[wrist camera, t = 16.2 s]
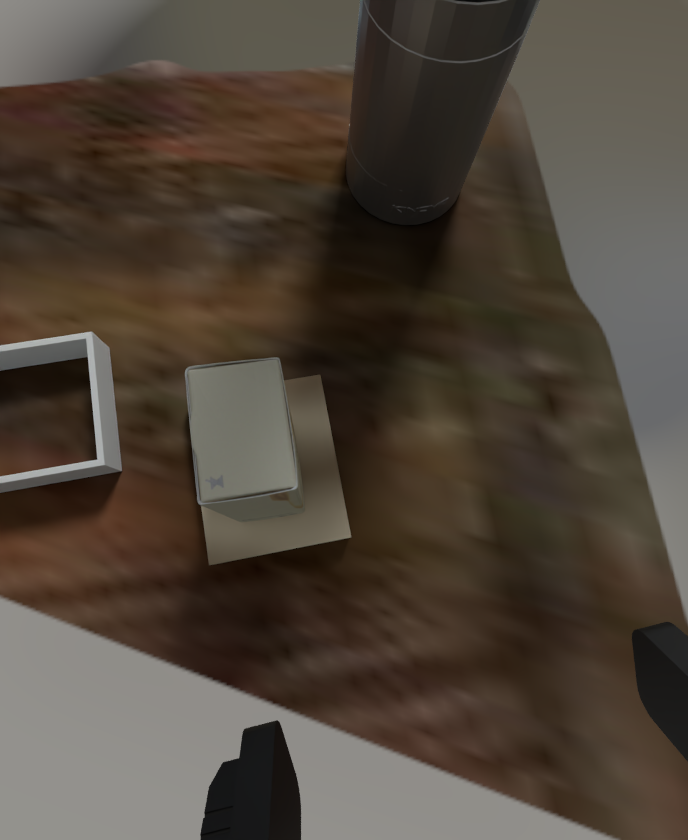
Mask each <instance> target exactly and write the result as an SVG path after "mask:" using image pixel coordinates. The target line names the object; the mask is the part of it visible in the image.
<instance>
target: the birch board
mask: <svg viewBox="0 0 688 840" xmlns="http://www.w3.org/2000/svg"><path fill="white" fill-rule="evenodd" d="M284 383H285V387H286V393H287V398H288V403H289V408H290V412H291V416H292V422H293V427H294V433H295V439H296V444H297V450H298V456H299V462H300V469H301V477H302V485H303V494H304V504H305V511H304V512H303V513H300V514H295V515H290V516H284V517H278V518H272V519H265V520H257V521H249V522H239V521H236V520H234V519H232V518H229V517H227V516H225V515H222V514H220V513H218V512H215V511H213V510H211V509H208V508H206V507H204V506H201V509H202V516H203V524H204V531H205V539H206V546H207V554H208V561H209V565H214V564H219V563H224V562H229V561H234V560H239V559H244V558H249V557H255V556H260V555H265V554H270V553H275V552H280V551H285V550H290V549H295V548H300V547H305V546H310V545H315V544H321V543H326V542H331V541H336V540H341V539H346V538H351V533H350V528H349V522H348V517H347V512H346V507H345V501H344V496H343V491H342V486H341V480H340V475H339V470H338V464H337V459H336V454H335V449H334V443H333V438H332V433H331V428H330V422H329V417H328V412H327V407H326V401H325V396H324V391H323V386H322V380H321V375H314V376H308V377H302V378H296V379H290V380H284ZM187 403H188V402H187Z"/></svg>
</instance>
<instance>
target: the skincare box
mask: <svg viewBox="0 0 688 840" xmlns="http://www.w3.org/2000/svg"><path fill="white" fill-rule="evenodd" d="M185 379H186V392H187V402H188V413H189V424H190V434H191V444H192V452H193V462H194V472H195V482H196V490H197V501H198V504H199V505H201V506H204V507H206V508H208V509H211V510H213V511H215V512H218V513H220V514H222V515H225V516H227V517H229V518H232V519H234V520H236V521H239V522H249V521H257V520H265V519H272V518H278V517H284V516H290V515H295V514H300V513H303V512H304V511H305V504H304V494H303V485H302V477H301V469H300V462H299V456H298V450H297V444H296V439H295V433H294V427H293V422H292V416H291V412H290V408H289V403H288V398H287V393H286V387H285V383H284V378H283V373H282V367H281V362H280V359H279V358H277V357H273V358H265V359H252V360H242V361H232V362H223V363H213V364H206V365H197V366H190V367H188V368H187V369H186V371H185Z"/></svg>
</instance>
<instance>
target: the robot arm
mask: <svg viewBox="0 0 688 840" xmlns="http://www.w3.org/2000/svg"><path fill="white" fill-rule="evenodd" d="M539 1H540V0H360V7H359V19H358V31H357V42H356V54H355V66H354V78H353V90H352V102H351V114H350V125H349V135H348V147H347V160H346V178H347V182H348V186H349V188H350V190H351V193H352V195H353V196H354V198H355V199H356V200H357V202H358V203H359V204H360V205H361V206H362V207H363V208H364V209H365V210H366V211H368V212H369V213H370V214H372V215H374V216H375V217H377V218H379V219H381V220H384V221H387V222H390V223H393V224H400V225H418V224H422V223H426V222H430V221H432V220H434V219H436V218H438V217H440V216H441V215H443V214H444V213H445V212H446V211H448V210H449V209H450V208H451V206H452V205H453V204H454V203H455V201H456V200H457V197H458V195H459V193H460V191H461V189H462V186H463V184H464V182H465V179H466V177H467V174H468V172H469V170H470V167H471V165H472V163H473V161H474V158H475V156H476V153H477V151H478V149H479V146H480V144H481V141H482V139H483V137H484V134H485V132H486V130H487V127H488V125H489V122H490V120H491V118H492V115H493V113H494V110H495V108H496V106H497V103H498V101H499V98H500V96H501V94H502V91H503V89H504V86H505V84H506V82H507V79H508V77H509V74H510V72H511V70H512V67H513V65H514V62H515V60H516V58H517V55H518V53H519V50H520V48H521V45H522V43H523V41H524V38H525V36H526V34H527V31H528V28H529V26H530V23H531V21H532V18H533V16H534V14H535V11H536V9H537V7H538V4H539ZM632 643H633V652H634V661H635V670H636V679H637V687H638V692H639V695H640V698H641V700H642V703H643V705H644V707H645V709H646V710H647V712H648V714H649V715H650V717H651V718H652V719H653V721H654V722H655V723H656V724H657V725H658V727H659V728H660V729H661V730H662V731H663V733H664V734H665V735H666V736H667V737H668V739H669V740H670V741H671V742H672V743H673V745H674V746H675V747H676V748H677V749H678V751H679V752H680V753H681V754H682V755H683V756H684V758H685V759H686V760H687V761H688V636H687V635H685V634H684V633H683V632H682V631H681V630H680V629H678V628H677V627H676V626H675V625H674V624H672V623H670V622H664V623H660V624H656V625H652V626H649V627H645V628H641V629H637V630H634V631H633V633H632ZM201 840H301V803H300V793H299V787H298V781H297V777H296V773H295V770H294V767H293V763H292V760H291V757H290V754H289V751H288V747H287V744H286V741H285V738H284V734H283V731H282V728H281V725H280V723H279V721H273V722H269V723H265V724H262V725H258V726H254V727H250V728H246V729H244V731H243V735H242V742H241V750H240V758H239V759H235V760H231V761H227V762H223V763H222V765H221V767H220V769H219V770H218V772H217V774H216V776H215V778H214V779H213V781H212V783H211V785H210V786H209V791H208V796H207V802H206V807H205V818H203V823H202V829H201Z"/></svg>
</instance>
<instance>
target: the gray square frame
mask: <svg viewBox="0 0 688 840" xmlns="http://www.w3.org/2000/svg"><path fill="white" fill-rule="evenodd" d="M84 357H88V364H89V375H90V385H91V396H92V407H93V418H94V428H95V439H96V450H97V460H92V461H87V462H81V463H75V464H70V465H64V466H58V467H52V468H47V469H41V470H35V471H30V472H24V473H18V474H12V475H7V476H1V477H0V493H2V492H8V491H13V490H19V489H25V488H30V487H36V486H42V485H47V484H53V483H58V482H64V481H70V480H75V479H81V478H87V477H92V476H98V475H103V474H109V473H115V472H120V471H122V465H121V456H120V446H119V436H118V427H117V417H116V407H115V397H114V388H113V378H112V368H111V358H110V349H109V347H108V346H107V345H106V344H105V343H103V342H102V341H101V340H100V339H99V338H98V337H97V336H96V335H95V334H94V333H93V332H86V333H80V334H73V335H67V336H60V337H54V338H47V339H40V340H34V341H27V342H21V343H14V344H8V345H1V346H0V371H2V370H8V369H14V368H21V367H27V366H33V365H40V364H46V363H52V362H59V361H65V360H72V359H78V358H84Z"/></svg>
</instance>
